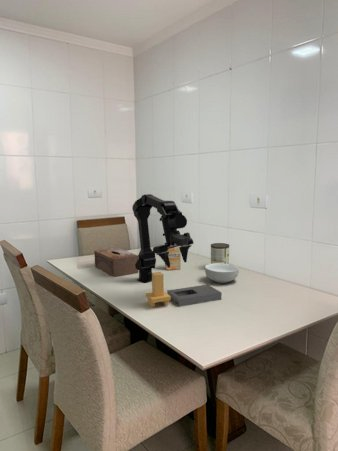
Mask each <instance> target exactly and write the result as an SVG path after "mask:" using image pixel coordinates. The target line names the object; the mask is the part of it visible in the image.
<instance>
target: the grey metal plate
mask: <svg viewBox="0 0 338 451" xmlns="http://www.w3.org/2000/svg"><path fill="white" fill-rule="evenodd" d="M166 293H167V294H168V295H170V296H171V300H170V301H171V302H172V303H174V304H175V305H176V306H178V307H184V306H190V305H195V304H203V303H207V302H212V301H214V302H215V301H219V300H222V292H221V291H219V290H218V289H216V288H215V287H213V286H211V285H209V284H201V285H194V286H188V287H182V288H175V289H169V290H167V291H166Z"/></svg>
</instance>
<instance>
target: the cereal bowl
mask: <svg viewBox="0 0 338 451" xmlns="http://www.w3.org/2000/svg"><path fill="white" fill-rule="evenodd" d="M239 269H240V268H239V266H238V265H234V264H231V263H229V264H224V263H214V264H211V263H209V264H207V265H205V267H204V273H205V276H207V278H209V279H210V280H212V281H213V282H216V283H218V284H219V283H220V284H224V283H225V284H227V283H229V282H231V281H233V280H235V279H237V277H238V276H239Z"/></svg>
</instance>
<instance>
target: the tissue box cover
mask: <svg viewBox="0 0 338 451" xmlns="http://www.w3.org/2000/svg"><path fill="white" fill-rule="evenodd" d="M93 253H94V267H95V268H96V269H98V270H99V271H101V270H102V271H101V272H103V273H105V274H107V275H109V276H111V277H112V278H119V277H124V276H130V275H135V274H139V270H138V269H136V266H135V264H136V262H137V260H138V254H135V253H132V252H130V251H128V250H125V249H122V248H119V247H109V248H104V249H95V250H94V251H93Z"/></svg>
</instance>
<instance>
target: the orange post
mask: <svg viewBox="0 0 338 451" xmlns="http://www.w3.org/2000/svg"><path fill="white" fill-rule="evenodd" d="M145 298H146V299H147V305H148V306H149V307H151V308H154V307H156V303H160V302H161V303H162V304H163V305H165V306H167V305H169V301H172V300H171V296H170V295H168V294H167V291H165V290H164V273H162V272H161V271H157V272H152V281H151V292H150V291H149V292H145Z"/></svg>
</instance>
